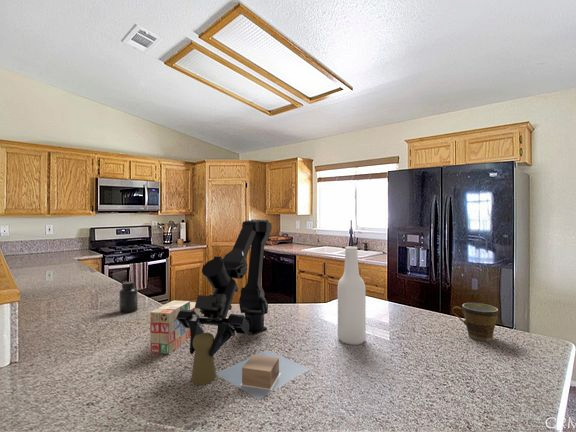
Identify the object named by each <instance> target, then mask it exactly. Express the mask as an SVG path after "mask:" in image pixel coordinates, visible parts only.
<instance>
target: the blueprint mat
mask: <svg viewBox="0 0 576 432" xmlns="http://www.w3.org/2000/svg"><path fill="white" fill-rule="evenodd" d="M256 355H260V356H268V357H276V358H279V375H278V376H277V378H276V380H275V382H274V383H273V385H272V387H271V388H270V389H268V388H261V387H255V386H248V385H242V367H243V366H244V365H245V364H246V362H247V361H248V360H249V359H250V358H251V356H250V357H248V358H246V359H244V360H242V361H239V362H237V363H235V364H233V365H230V366H229V367H226V368H224V369H222V370H219V371H217V372H216V376H218V377H220V378H222V379H223V380H225V381H227V382H229V384H232V385H233V386H235V387H236V388H238V389H240V390H242V391H243V392H245V393H247V394H249V395H250V396H252V397H254V398H256V400H257V399H258V400H260V399H262V398H264V397H265V396H267V395H269V394H270V393H272V392H274V391H275V390H277V389H279V388H280V387H282V386H283V385H285V384H287V383H288V382H291V381H292V380H293V379H295V378H297V377H298V376H300V375H301V374H303V373H305V372H306V371H308V370H310V368H309V367H308V366H305V365H303V364H300V363H299V362H298V363H297V362H295V361H293V360H291V359H289V358H286V357H285V356H281V355H279V354H277V353H275V352H274V353H273V352H272V351H269V350H267V349H266V350H263V351H261V352H259V353H257V354H256Z"/></svg>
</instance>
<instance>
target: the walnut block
mask: <svg viewBox="0 0 576 432" xmlns="http://www.w3.org/2000/svg"><path fill="white" fill-rule="evenodd" d="M250 357H251V358H250ZM250 357H249V358H250V359H249V360H248V361H247V362H246V364H245V365H244V366H243V367H242V385H248V386H255V387H261V388H268V389H270V388H271V387H272V385H273V383H274V382H275V380H276V378H277V376H278V375H279V358H276V357H268V356H260V355H257V354H252V355H251V356H250Z"/></svg>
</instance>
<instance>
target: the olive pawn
mask: <svg viewBox="0 0 576 432" xmlns="http://www.w3.org/2000/svg"><path fill="white" fill-rule="evenodd" d="M214 339H215V336H214V335H213V334H212V333H208V332H204V333H201V334H198V335H196V336H195V337H194V339H193V348H194V349H195V351H194V353H193V354H194V356H193V363H192V372H191V379H190V381H191V383H192V384H195V385H198V386H199V385H207V384H210V383H212V382H214V381H215V380H216V378H217V375H216V373H217V372H216V365H215V359H214V355H213V356H212V357H210V356H209V354H210V350H211V347H212V344H213V342H214Z"/></svg>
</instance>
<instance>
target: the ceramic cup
mask: <svg viewBox="0 0 576 432" xmlns="http://www.w3.org/2000/svg"><path fill="white" fill-rule="evenodd" d="M455 309H458V310H460V311H461V313H462V314H463V316H464V320H463V319H462V317H461V316H459V315H457V313H455V312H454V310H455ZM451 310H452V311H451V312H452V313H453V314H454V315H455V317H457V318H458V319H459V320H460V321H461V322H462V323H463V324H464V326H465V327H466V331H467V336H468V338H471V339H472V340H475V341H480V342H484V343H485V342H491V341H493V338H494V332H495V328H496V327H495V326H496V323H497V319H498V315H499V309H498V308H497V307H495V306H493V305H491V304H485V303H479V302H466V303H463V304H462V307H460V306H458V305H457V306H454V307H453V308H452V309H451Z"/></svg>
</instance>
